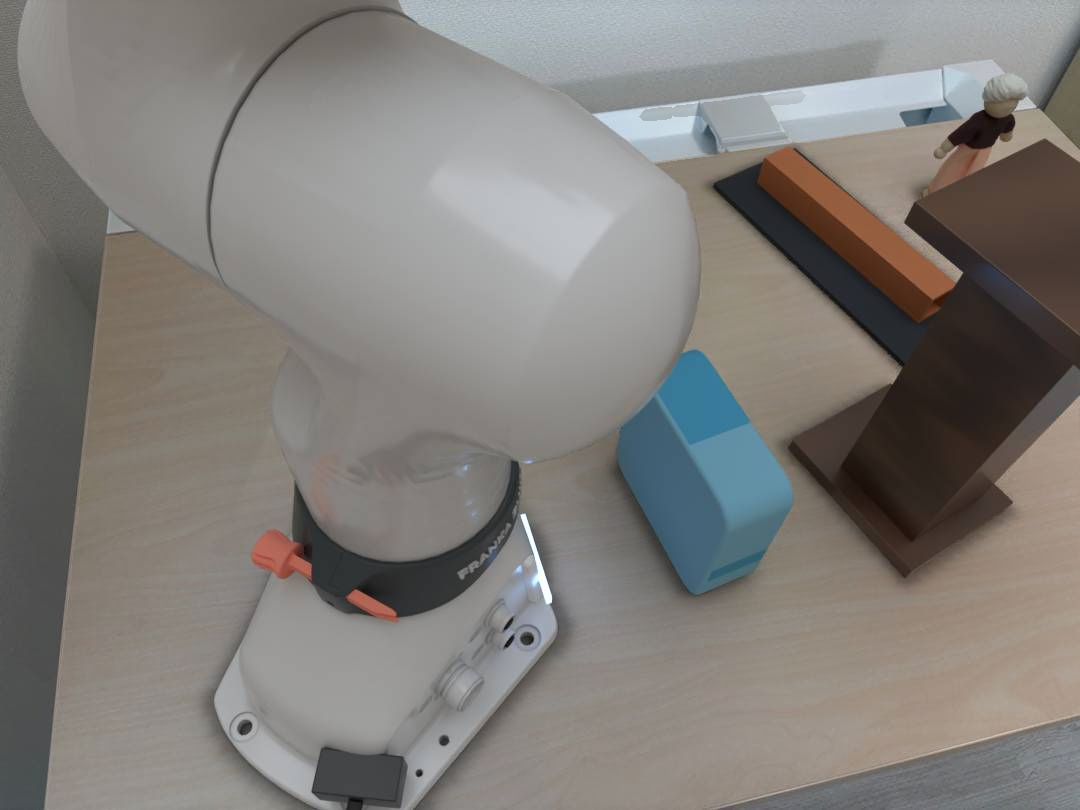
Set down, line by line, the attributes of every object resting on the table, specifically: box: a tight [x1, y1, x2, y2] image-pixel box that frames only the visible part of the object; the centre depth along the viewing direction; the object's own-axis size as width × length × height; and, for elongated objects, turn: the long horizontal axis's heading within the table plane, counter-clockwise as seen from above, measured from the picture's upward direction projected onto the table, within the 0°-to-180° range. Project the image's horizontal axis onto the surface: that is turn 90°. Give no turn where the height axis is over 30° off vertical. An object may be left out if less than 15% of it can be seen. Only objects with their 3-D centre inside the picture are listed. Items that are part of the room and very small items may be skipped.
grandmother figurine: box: [921, 72, 1029, 198], centre depth 73 cm, size 8×4×13 cm, turn 121°
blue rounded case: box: [616, 349, 794, 596], centre depth 54 cm, size 12×4×12 cm, turn 23°
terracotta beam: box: [757, 145, 957, 323], centre depth 72 cm, size 20×3×3 cm, turn 33°
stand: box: [787, 138, 1080, 578], centre depth 51 cm, size 12×10×24 cm
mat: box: [712, 147, 938, 368], centre depth 73 cm, size 26×10×1 cm, turn 32°
